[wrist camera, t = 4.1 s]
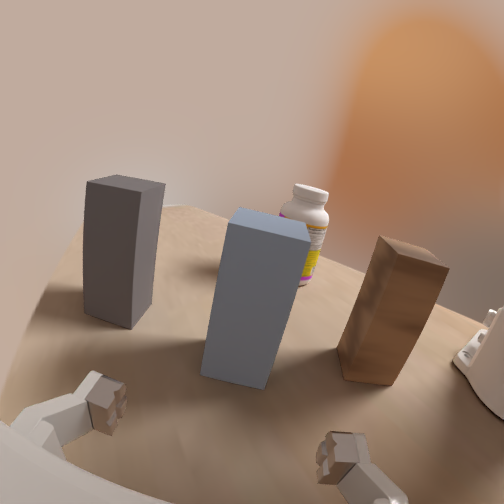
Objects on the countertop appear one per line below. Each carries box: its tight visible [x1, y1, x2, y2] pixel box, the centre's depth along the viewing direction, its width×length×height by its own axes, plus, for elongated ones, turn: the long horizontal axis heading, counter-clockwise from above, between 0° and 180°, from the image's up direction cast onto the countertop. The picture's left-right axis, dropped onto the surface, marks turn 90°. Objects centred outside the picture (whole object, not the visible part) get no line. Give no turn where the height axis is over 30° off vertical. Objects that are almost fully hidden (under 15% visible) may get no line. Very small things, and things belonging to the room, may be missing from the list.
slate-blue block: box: [200, 207, 311, 390], centre depth 23 cm, size 5×5×12 cm
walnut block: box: [337, 235, 449, 386], centre depth 25 cm, size 5×5×12 cm
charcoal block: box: [83, 175, 166, 330], centre depth 26 cm, size 5×5×12 cm
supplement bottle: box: [279, 184, 329, 286], centre depth 42 cm, size 7×7×13 cm
